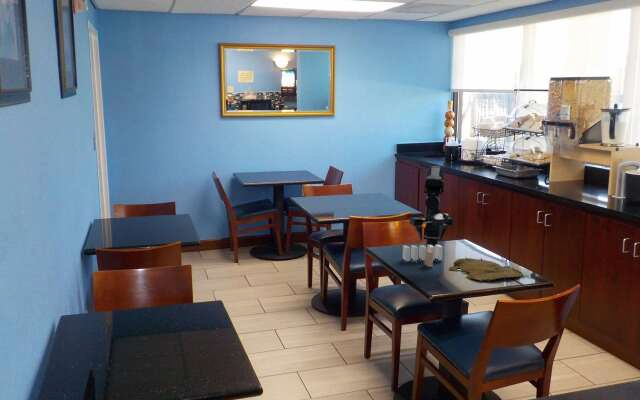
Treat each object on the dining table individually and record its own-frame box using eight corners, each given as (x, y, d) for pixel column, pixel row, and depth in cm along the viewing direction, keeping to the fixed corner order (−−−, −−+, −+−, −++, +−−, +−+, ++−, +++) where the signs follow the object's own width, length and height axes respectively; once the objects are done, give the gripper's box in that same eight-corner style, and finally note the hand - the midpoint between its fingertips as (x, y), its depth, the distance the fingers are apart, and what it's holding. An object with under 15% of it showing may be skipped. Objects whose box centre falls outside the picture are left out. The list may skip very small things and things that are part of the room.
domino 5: (424, 265, 262) (425, 250, 261) (428, 265, 262) (429, 250, 261) (428, 267, 257) (429, 252, 256) (432, 267, 258) (433, 252, 257)
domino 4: (426, 259, 272) (427, 244, 271) (430, 259, 272) (430, 244, 271) (430, 261, 268) (431, 247, 267) (434, 261, 268) (434, 247, 267)
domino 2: (410, 260, 270) (411, 245, 269) (414, 259, 271) (414, 245, 270) (414, 262, 266) (414, 247, 265) (417, 262, 266) (418, 247, 265)
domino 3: (418, 259, 271) (419, 245, 270) (422, 259, 272) (422, 245, 271) (422, 262, 267) (423, 247, 266) (425, 262, 267) (426, 247, 266)
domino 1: (402, 260, 269) (403, 245, 268) (406, 260, 270) (406, 245, 269) (405, 262, 265) (406, 247, 264) (409, 262, 265) (410, 247, 264)
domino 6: (434, 259, 273) (435, 244, 272) (438, 259, 273) (438, 244, 272) (438, 261, 269) (439, 246, 268) (442, 261, 269) (442, 246, 268)
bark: (537, 270, 246) (481, 277, 234) (536, 279, 247) (481, 286, 234) (492, 254, 271) (440, 260, 258) (492, 262, 271) (439, 268, 259)
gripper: (420, 209, 246) (418, 245, 248) (460, 208, 250) (458, 244, 252) (410, 204, 256) (408, 239, 259) (449, 204, 261) (446, 238, 263)
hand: (430, 240), depth 258 cm, fingers open, 9 cm apart
